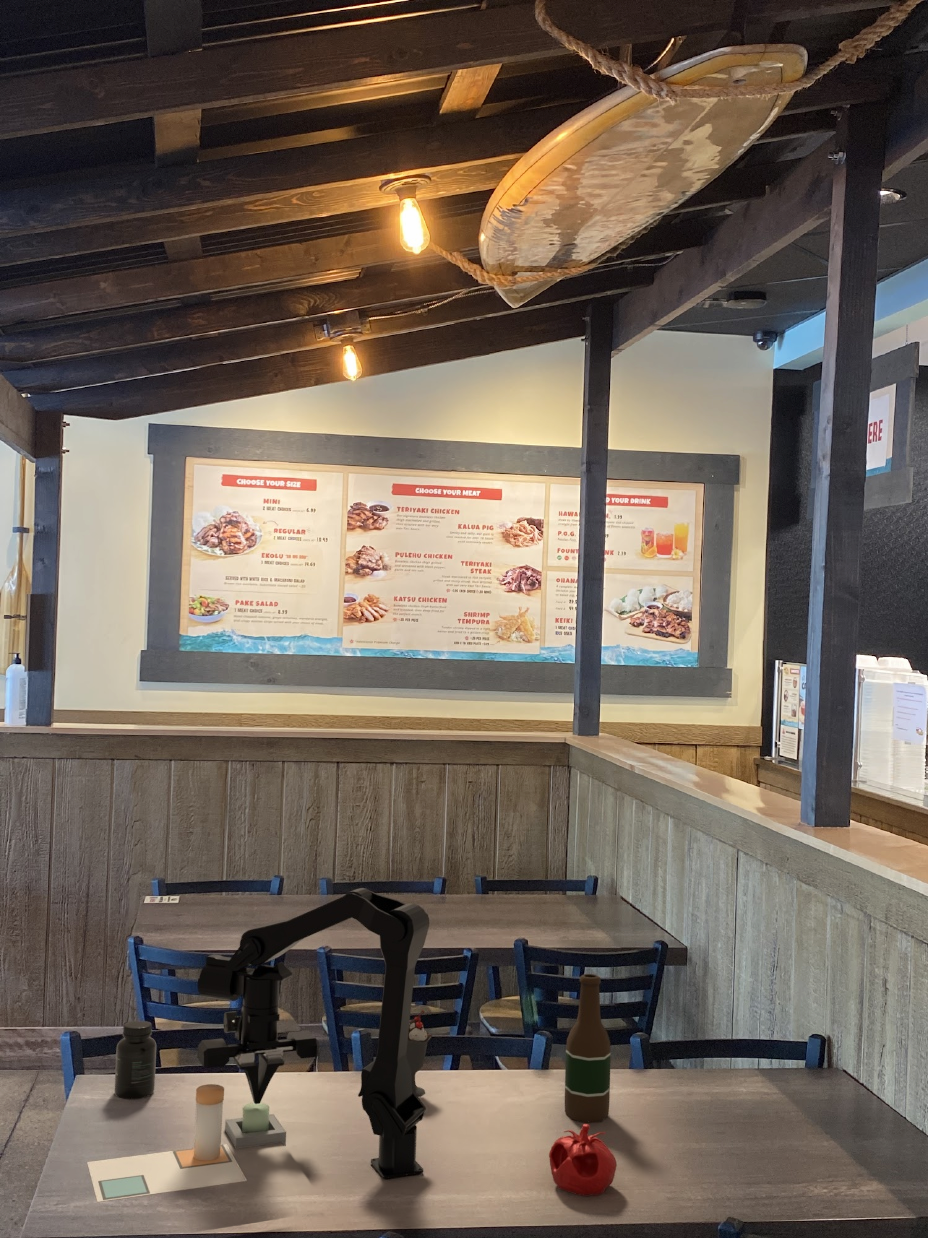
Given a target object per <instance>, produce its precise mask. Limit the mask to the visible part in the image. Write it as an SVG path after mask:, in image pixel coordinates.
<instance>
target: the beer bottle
mask: <svg viewBox="0 0 928 1238" xmlns="http://www.w3.org/2000/svg"><path fill="white" fill-rule="evenodd" d="M578 981H579V983H580V991H579V1003H578V1013H577V1019H576V1022H575V1023H574V1025H573V1026H572V1027H571V1028H570V1030H569V1034H568V1036H567V1038H566V1046H565V1069H564V1070H565V1073H564V1074H565V1075H564V1076H565V1077H564V1079H565V1080H564V1112H565V1114H566V1115H567V1116H568V1118H570V1120H573V1121H576V1122H577V1121H578V1122H582V1123H584V1124H589V1123H601V1122H603V1121H604V1120H605V1119H606V1118H607V1117H608V1116H609V1112H610V1096H611V1095H610V1094H611V1093H610V1092H611V1091H610V1089H611V1055H612V1054H611V1051H612V1050H611V1040H610V1037H609V1034H608V1031H607V1030H606V1028H605V1026H604V1025H603V1023H602V1017H601V1004H600V1003H601V1001H600V1000H601V998H600V997H601V995H600V984H601V983H602V981H601V977H600V976H598V975H597V974H592V973H585V974H584V973H583V974H582V975H580V978H579V980H578Z"/></svg>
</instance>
